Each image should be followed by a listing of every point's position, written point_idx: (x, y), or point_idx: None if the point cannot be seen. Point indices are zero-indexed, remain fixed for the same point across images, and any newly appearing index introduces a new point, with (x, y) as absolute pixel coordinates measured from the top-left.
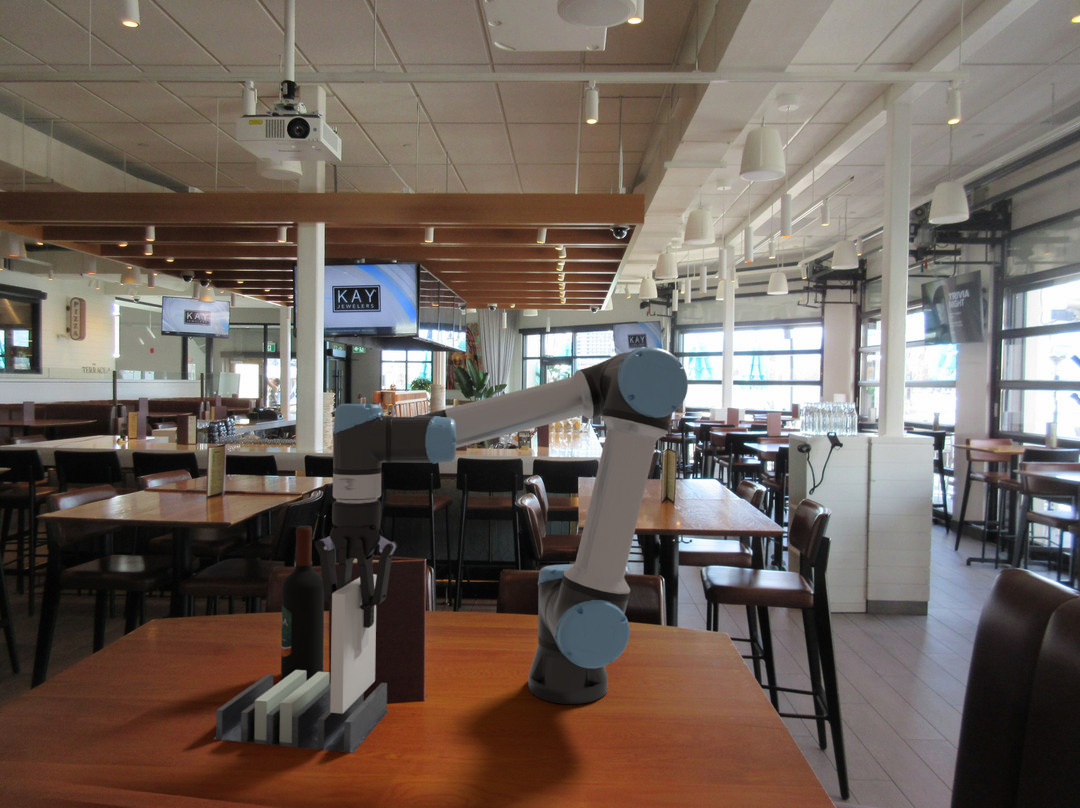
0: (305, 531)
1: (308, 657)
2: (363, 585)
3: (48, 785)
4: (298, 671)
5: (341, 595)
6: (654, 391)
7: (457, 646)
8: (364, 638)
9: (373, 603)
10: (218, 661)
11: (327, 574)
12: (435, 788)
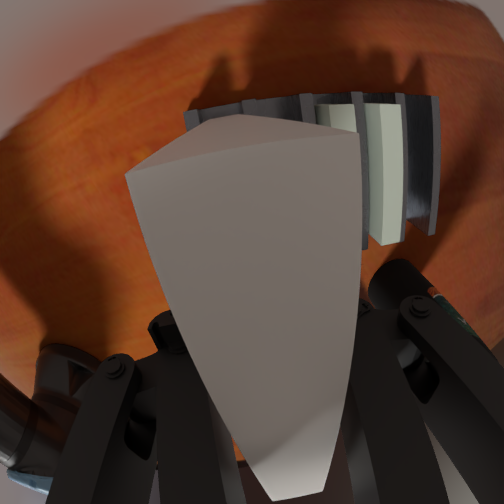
0: None
1: (401, 300)
2: (189, 449)
3: (476, 23)
4: (392, 237)
5: (184, 156)
6: None
7: None
8: None
9: (149, 364)
10: (482, 286)
11: (500, 413)
12: (50, 119)
